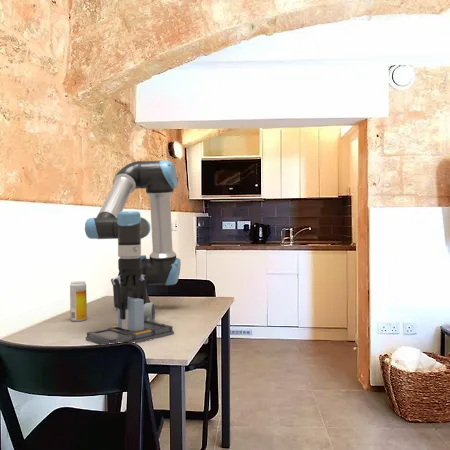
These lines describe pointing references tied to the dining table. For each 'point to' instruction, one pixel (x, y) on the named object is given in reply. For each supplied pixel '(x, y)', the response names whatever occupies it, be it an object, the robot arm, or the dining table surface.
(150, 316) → the ceramic mug
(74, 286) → the beer can
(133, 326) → the blue-grey rectangular block
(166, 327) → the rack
